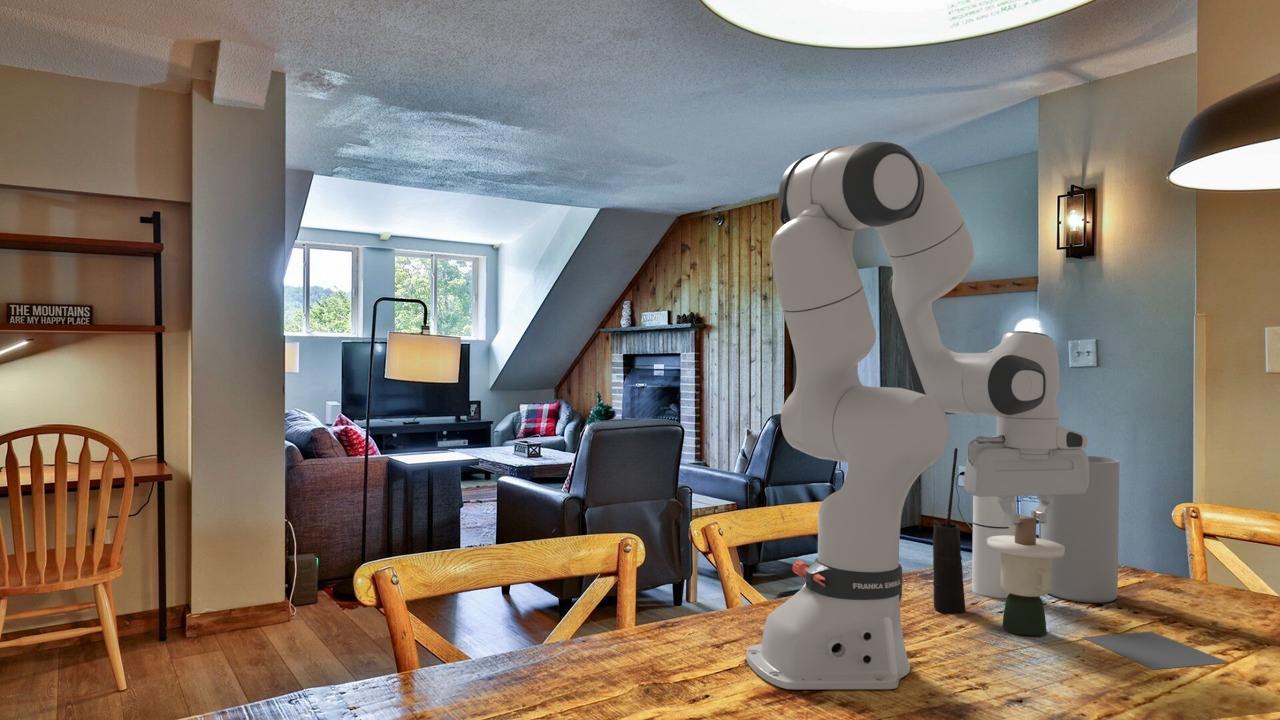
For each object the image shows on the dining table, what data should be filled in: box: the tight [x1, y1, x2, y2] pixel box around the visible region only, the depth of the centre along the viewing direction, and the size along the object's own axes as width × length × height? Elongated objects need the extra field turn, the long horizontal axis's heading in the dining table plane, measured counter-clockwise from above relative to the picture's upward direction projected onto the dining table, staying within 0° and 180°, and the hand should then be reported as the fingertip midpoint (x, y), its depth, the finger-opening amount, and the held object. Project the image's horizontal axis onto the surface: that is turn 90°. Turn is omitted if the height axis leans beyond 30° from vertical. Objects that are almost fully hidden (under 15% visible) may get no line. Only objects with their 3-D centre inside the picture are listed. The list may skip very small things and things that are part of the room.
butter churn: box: [931, 447, 967, 615], centre depth 139 cm, size 9×10×28 cm
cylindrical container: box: [971, 495, 1016, 599], centre depth 149 cm, size 7×7×25 cm
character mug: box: [1000, 553, 1051, 637], centre depth 126 cm, size 11×7×13 cm, turn 10°
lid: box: [987, 515, 1065, 558], centre depth 126 cm, size 11×11×5 cm
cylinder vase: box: [1040, 455, 1120, 604], centre depth 148 cm, size 12×12×25 cm
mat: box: [1080, 631, 1230, 671], centre depth 118 cm, size 13×13×1 cm
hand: (1025, 523), depth 126 cm, fingers open, 3 cm apart
